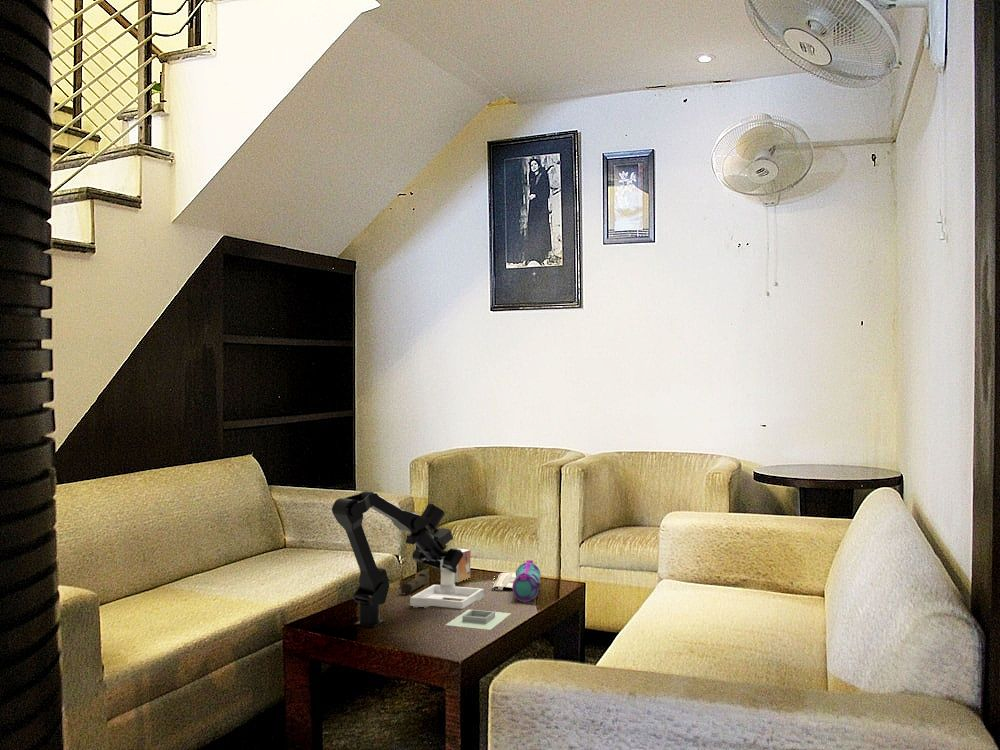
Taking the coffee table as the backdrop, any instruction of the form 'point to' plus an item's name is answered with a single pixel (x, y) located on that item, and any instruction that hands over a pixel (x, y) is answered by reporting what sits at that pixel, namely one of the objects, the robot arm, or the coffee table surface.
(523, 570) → the pencil case
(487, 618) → the green board with frame
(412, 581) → the hand tool
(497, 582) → the newspaper
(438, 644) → the coffee table surface
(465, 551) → the small box
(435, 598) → the parts tray
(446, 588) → the white light bulb
